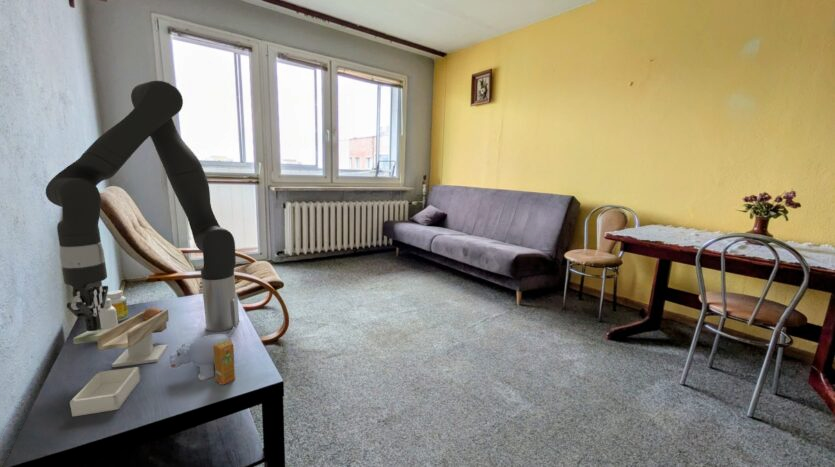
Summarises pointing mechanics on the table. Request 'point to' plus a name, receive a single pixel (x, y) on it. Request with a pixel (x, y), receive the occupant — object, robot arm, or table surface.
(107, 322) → the eye dropper bottle
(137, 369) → the bin
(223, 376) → the supplement box
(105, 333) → the tilting chute
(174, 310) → the table surface
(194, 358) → the hippopotamus toy
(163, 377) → the table surface
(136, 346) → the chute stand
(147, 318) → the ball
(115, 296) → the supplement bottle
